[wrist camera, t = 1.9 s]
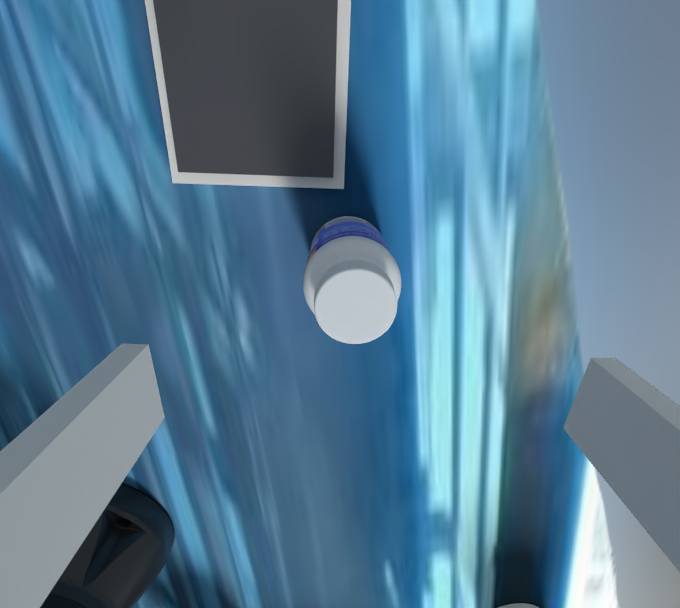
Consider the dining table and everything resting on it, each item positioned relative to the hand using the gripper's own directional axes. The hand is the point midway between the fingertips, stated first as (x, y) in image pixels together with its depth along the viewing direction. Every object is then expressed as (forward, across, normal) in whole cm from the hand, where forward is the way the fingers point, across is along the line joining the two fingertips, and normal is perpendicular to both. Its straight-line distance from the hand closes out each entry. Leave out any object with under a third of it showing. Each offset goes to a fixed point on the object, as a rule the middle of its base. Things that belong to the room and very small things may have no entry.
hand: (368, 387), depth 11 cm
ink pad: (+16, -6, +10) cm, 20 cm away
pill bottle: (+16, 0, 0) cm, 16 cm away
